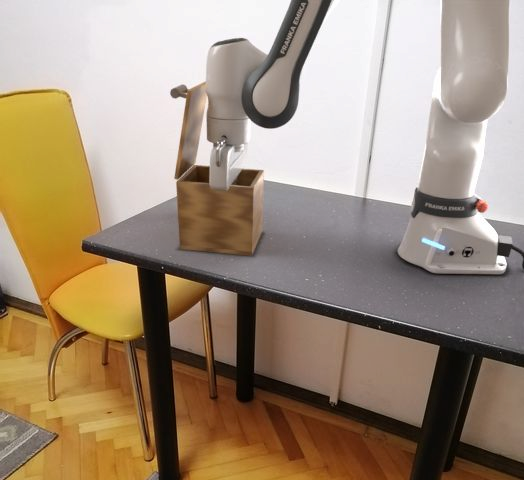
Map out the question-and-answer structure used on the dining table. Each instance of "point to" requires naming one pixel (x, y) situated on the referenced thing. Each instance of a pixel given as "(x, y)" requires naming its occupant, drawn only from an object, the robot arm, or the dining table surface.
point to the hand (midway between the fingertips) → (228, 199)
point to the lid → (190, 125)
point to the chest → (220, 212)
